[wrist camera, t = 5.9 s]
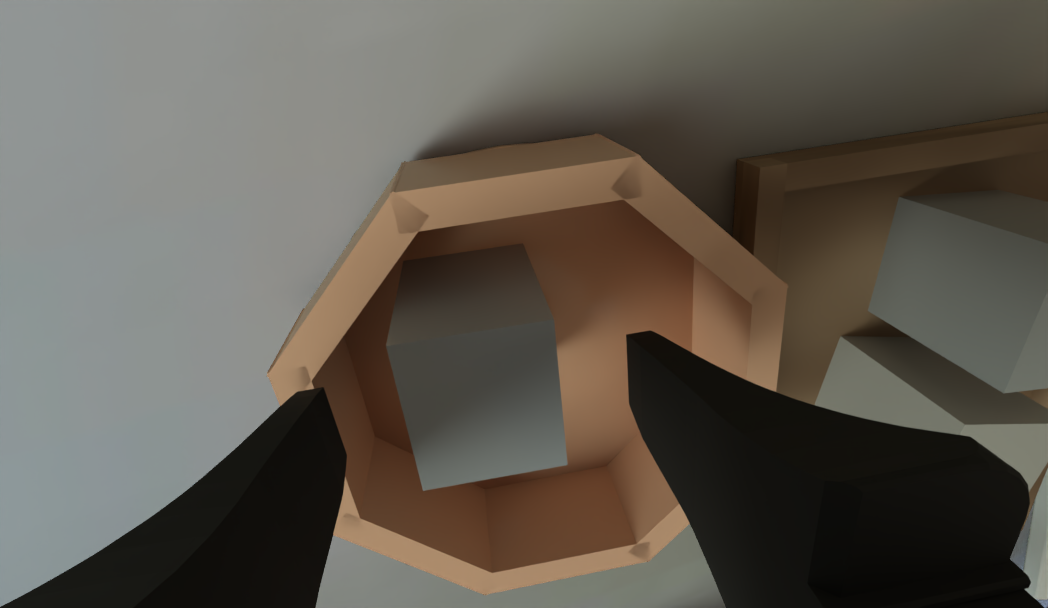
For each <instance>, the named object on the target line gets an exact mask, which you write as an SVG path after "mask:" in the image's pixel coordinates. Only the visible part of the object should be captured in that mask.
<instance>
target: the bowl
mask: <svg viewBox="0 0 1048 608" xmlns="http://www.w3.org/2000/svg"><path fill="white" fill-rule="evenodd" d="M521 243H523V245H524V247H525V250H526V252H527V255H528V257H529V259H530V262H531V264H532V267H533V269H534V272H535V274H536V277H537V279H538V281H539V284H540V286H541V289H542V291H543V294H544V296H545V299H546V301H547V303H548V306H549V308H550V311H551V313H552V316H553V318H554V324H555V335H556V346H557V357H558V367H559V378H560V389H561V400H562V410H563V421H564V432H565V443H566V454H567V464H568V465H565V466H559V467H554V468H548V469H542V470H537V471H531V472H526V473H520V474H515V475H509V476H503V477H498V478H492V479H487V480H481V481H476V482H470V483H464V484H459V485H453V486H448V487H442V488H436V489H431V490H425V491H423V489H422V485H421V481H420V477H419V473H418V469H417V465H416V461H415V457H414V454H413V450H412V446H411V442H410V438H409V434H408V430H407V426H406V422H405V418H404V414H403V410H402V407H401V403H400V399H399V395H398V391H397V387H396V383H395V379H394V375H393V371H392V367H391V364H390V360H389V356H388V352H387V348H386V344H387V339H388V334H389V329H390V324H391V319H392V314H393V309H394V305H395V300H396V295H397V290H398V285H399V280H400V275H401V270H402V265H403V261H406V260H413V259H419V258H426V257H433V256H440V255H447V254H453V253H460V252H467V251H474V250H481V249H487V248H494V247H501V246H508V245H515V244H521ZM787 288H788V284H787V283H785V282H784V281H782V280H781V279H779V278H778V277H777V276H776V275H775V274H774V273H772V272H771V271H770V270H769V269H768V268H767V267H766V266H764V265H763V264H762V263H761V262H760V261H759V260H758V259H756V258H755V257H754V256H753V255H752V254H751V253H750V252H748V251H747V250H746V249H745V248H744V247H743V246H742V245H740V244H739V243H738V242H737V241H736V240H735V239H734V238H732V237H731V236H730V235H729V234H728V233H727V232H726V231H724V230H723V229H722V228H721V227H720V226H719V225H718V224H716V223H715V222H714V221H713V220H712V219H711V218H710V217H708V216H707V215H706V214H705V213H704V212H703V211H702V210H700V209H699V208H698V207H697V206H696V205H695V204H694V203H692V202H691V201H690V200H689V199H688V198H687V197H685V196H684V195H683V194H682V193H681V192H680V191H679V190H677V189H676V188H675V187H674V186H673V185H672V184H671V183H669V182H668V181H667V180H666V179H665V178H664V177H663V176H661V175H660V174H659V173H658V172H657V171H656V170H655V169H653V168H652V167H651V166H650V165H649V164H648V163H647V162H645V161H644V160H643V159H642V158H641V155H639V154H637V153H635V152H633V151H631V150H629V149H627V148H625V147H623V146H621V145H619V144H618V143H616V142H614V141H612V140H610V139H608V138H606V137H604V136H602V135H600V134H597V133H595V134H594V135H587V136H580V137H574V138H567V139H560V140H553V141H546V142H539V143H522V144H509V145H499V146H494V147H489V148H485V149H480V150H475V151H471V152H468V153H464V154H458V155H451V156H444V157H437V158H430V159H423V160H417V161H410V162H405V161H404V162H403V163H401V166H400V168H399V170H398V171H397V173H396V174H395V176H394V177H393V179H392V180H391V181H390V183H389V184H388V186H387V187H386V189H385V190H384V192H383V193H382V195H381V196H380V198H379V199H378V201H377V202H376V204H375V205H374V207H373V208H372V210H371V211H370V213H369V214H368V215H367V217H366V218H365V220H364V221H363V223H362V224H361V226H360V227H359V229H358V230H357V231H356V232H355V234H354V235H353V237H352V239H351V240H350V242H349V244H348V245H347V246H346V248H345V249H344V251H343V252H342V254H341V255H340V257H339V258H338V260H337V261H336V263H335V264H334V266H333V267H332V269H331V270H330V272H329V273H328V275H327V276H326V278H325V279H324V280H323V282H322V283H321V285H320V286H319V288H318V289H317V291H316V292H315V294H314V295H313V297H312V298H311V300H310V301H309V303H308V304H307V306H306V307H305V308H304V309H303V310H302V311H301V313H300V315H299V317H298V319H297V320H296V322H295V324H294V326H293V328H292V329H291V331H290V333H289V335H288V337H287V338H286V340H285V342H284V344H283V345H282V347H281V349H280V351H279V353H278V354H277V356H276V358H275V360H274V362H273V363H272V365H271V367H270V369H269V370H268V372H267V374H268V375H267V377H269V379H270V382H271V384H272V387H273V389H274V392H275V394H276V397H277V399H278V402H279V404H280V406H281V405H282V404H283V403H284V402H285V401H287V400H288V399H289V398H290V397H291V396H292V395H294V394H295V393H296V392H298V391H304V390H310V389H315V388H321V387H324V390H325V392H326V395H327V398H328V401H329V404H330V407H331V410H332V413H333V416H334V419H335V421H336V424H337V427H338V430H339V433H340V436H341V439H342V442H343V445H344V448H345V450H346V453H347V463H346V473H345V482H344V491H343V497H342V501H341V505H340V509H339V513H338V517H337V521H336V525H335V529H334V533H333V535H334V536H337V537H339V538H342V539H345V540H347V541H350V542H352V543H355V544H357V545H360V546H362V547H365V548H367V549H370V550H372V551H375V552H377V553H380V554H383V555H385V556H388V557H390V558H393V559H395V560H398V561H400V562H403V563H405V564H408V565H410V566H413V567H415V568H418V569H421V570H423V571H426V572H428V573H431V574H433V575H436V576H438V577H441V578H443V579H446V580H448V581H451V582H453V583H456V584H459V585H461V586H464V587H466V588H469V589H471V590H474V591H476V592H479V593H481V594H483V595H487V594H491V593H496V592H501V591H506V590H510V589H515V588H520V587H525V586H530V585H535V584H540V583H545V582H550V581H554V580H559V579H564V578H569V577H574V576H579V575H584V574H589V573H594V572H599V571H603V570H608V569H613V568H618V567H623V566H628V565H633V564H638V563H643V562H648V561H650V560H651V559H652V558H653V557H654V556H655V555H656V554H657V553H658V552H659V551H660V550H661V549H663V548H664V547H665V546H666V545H667V544H668V543H669V542H670V541H671V540H672V539H673V538H674V537H676V536H677V535H678V534H679V533H680V532H681V531H682V530H683V529H684V528H685V527H686V526H687V525H689V524H690V523H689V521H688V519H687V517H686V515H685V513H684V511H683V510H682V508H681V506H680V504H679V503H678V501H677V499H676V497H675V495H674V494H673V492H672V490H671V488H670V487H669V485H668V483H667V481H666V480H665V478H664V476H663V474H662V473H661V471H660V469H659V467H658V465H657V464H656V462H655V460H654V458H653V457H652V455H651V453H650V451H649V449H648V448H647V446H646V444H645V442H644V440H643V438H642V436H641V433H640V431H639V429H638V426H637V424H636V421H635V418H634V416H633V413H632V411H631V408H630V405H629V394H628V369H627V344H626V334H632V333H638V332H644V331H649V330H651V331H653V332H655V333H657V334H659V335H661V336H663V337H665V338H667V339H668V340H670V341H672V342H674V343H676V344H677V345H679V346H681V347H683V348H684V349H686V350H688V351H690V352H692V353H693V354H695V355H697V356H699V357H701V358H703V359H705V360H706V361H708V362H710V363H712V364H714V365H716V366H718V367H720V368H722V369H724V370H726V371H728V372H730V373H732V374H735V375H737V376H739V377H741V378H743V379H745V380H748V381H750V382H752V383H754V384H757V385H759V386H762V387H764V388H767V389H769V390H772V391H775V392H776V388H777V379H778V370H779V361H780V351H781V342H782V333H783V324H784V314H785V305H786V296H787Z"/></svg>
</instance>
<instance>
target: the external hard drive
mask: <svg viewBox="0 0 1048 608" xmlns="http://www.w3.org/2000/svg"><path fill="white" fill-rule="evenodd" d="M1023 572H1025V573H1026V574H1027V575H1028V576H1029V579H1030V581H1031V584H1030V586H1029V588H1026V589H1025V590H1026V591H1027V592H1028V593H1029V594H1030V595H1031V596H1032V597H1033V598H1034V599H1038V600H1046V599H1048V469H1047V471H1046V474H1045V476H1044V478H1043V481H1042V483H1041V486H1040V488H1039V491H1038V493H1037V495H1036V498H1035V501H1034V506H1033V513H1032V519H1031V525H1030V531H1029V537H1028V543H1027V550H1026V556H1025V562H1024V568H1023Z"/></svg>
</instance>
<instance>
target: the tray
mask: <svg viewBox="0 0 1048 608" xmlns="http://www.w3.org/2000/svg"><path fill="white" fill-rule="evenodd" d="M989 190H1001V191H1005V192H1010V193H1014V194H1018V195H1022V196H1026V197H1030V198H1034V199H1038V200H1042V201H1046V202H1048V112H1044V113H1037V114H1031V115H1024V116H1018V117H1011V118H1004V119H998V120H991V121H985V122H978V123H972V124H965V125H959V126H952V127H945V128H939V129H932V130H926V131H919V132H913V133H906V134H900V135H893V136H887V137H880V138H873V139H867V140H860V141H854V142H847V143H841V144H834V145H828V146H821V147H814V148H808V149H801V150H795V151H788V152H782V153H775V154H769V155H762V156H755V157H749V158H742V159H737V170H736V187H735V205H734V223H733V238H734V239H735V240H736V241H737V242H738V243H739V244H740V245H742V246H743V247H744V248H745V249H746V250H747V251H748V252H750V253H751V254H752V255H753V256H754V257H755V258H756V259H758V260H759V261H760V262H761V263H762V264H763V265H764V266H766V267H767V268H768V269H769V270H770V271H771V272H772V273H774V274H775V275H776V276H777V277H778V278H779V279H781V280H782V281H784V282H785V283H787V284H788V288H787V296H786V305H785V314H784V324H783V333H782V342H781V351H780V361H779V370H778V379H777V388H776V392H777V393H780V394H783V395H785V396H788V397H791V398H794V399H797V400H800V401H803V402H806V403H809V404H812V405H815V402H816V399H817V397H818V394H819V391H820V389H821V386H822V384H823V381H824V378H825V376H826V373H827V370H828V368H829V365H830V362H831V360H832V357H833V355H834V352H835V349H836V347H837V344H838V341H839V339H840V336H865V337H910V336H908V335H907V334H905V333H903V332H902V331H900V330H898V329H897V328H895V327H894V326H892V325H890V324H889V323H887V322H885V321H884V320H882V319H880V318H879V317H877V316H875V315H874V314H872V313H870V312H869V311H868V308H869V305H870V301H871V297H872V294H873V290H874V286H875V283H876V279H877V275H878V272H879V268H880V264H881V261H882V257H883V253H884V250H885V246H886V243H887V239H888V235H889V232H890V228H891V224H892V221H893V217H894V213H895V210H896V206H897V202H898V199H899V197H904V196H918V195H932V194H947V193H961V192H975V191H989ZM1020 393H1022V394H1023V395H1025V396H1027V397H1029V398H1030V399H1032V400H1034V401H1035V402H1037V403H1039V404H1040V405H1042V406H1044V407H1045V408H1047V409H1048V388H1046V389H1037V390H1029V391H1020ZM1047 469H1048V463H1047V464H1046V466H1045V467H1044V469H1043V471H1042V472H1041V474H1040V475H1039V477H1038V478H1037V480H1036V482H1035V483H1034V485H1033V486H1032V488H1031V489H1030V491H1029V497H1030V505H1029V509H1028V513H1027V517H1028V515H1029V512H1030V510H1031V508H1032V505H1033V503H1034V500H1035V498H1036V495H1037V493H1038V491H1039V488H1040V486H1041V483H1042V481H1043V478H1044V476H1045V474H1046V471H1047ZM1027 517H1026V520H1027ZM1026 520H1025V522H1026ZM1025 522H1024V524H1025ZM1023 527H1024V525H1023ZM1023 527H1022V529H1023Z"/></svg>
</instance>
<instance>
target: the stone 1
mask: <svg viewBox="0 0 1048 608" xmlns="http://www.w3.org/2000/svg"><path fill="white" fill-rule="evenodd" d="M386 348H387V352H388V356H389V360H390V364H391V367H392V371H393V375H394V379H395V383H396V387H397V391H398V395H399V399H400V403H401V407H402V410H403V414H404V418H405V422H406V426H407V430H408V434H409V438H410V442H411V446H412V450H413V454H414V457H415V461H416V465H417V469H418V473H419V477H420V481H421V485H422V489H423V491H425V490H431V489H436V488H442V487H448V486H453V485H459V484H464V483H470V482H476V481H481V480H487V479H492V478H498V477H503V476H509V475H515V474H520V473H526V472H531V471H537V470H542V469H548V468H554V467H559V466H565V465H568V464H567V454H566V443H565V432H564V421H563V410H562V400H561V389H560V378H559V367H558V357H557V346H556V335H555V324H554V318H553V316H552V313H551V311H550V308H549V306H548V303H547V301H546V299H545V296H544V294H543V291H542V289H541V286H540V284H539V281H538V279H537V277H536V274H535V272H534V269H533V267H532V264H531V262H530V259H529V257H528V255H527V252H526V250H525V247H524V245H523V243H521V244H515V245H508V246H501V247H494V248H487V249H481V250H474V251H467V252H460V253H453V254H447V255H440V256H433V257H426V258H419V259H413V260H406V261H403V265H402V270H401V275H400V280H399V285H398V290H397V295H396V300H395V305H394V309H393V314H392V319H391V324H390V329H389V334H388V339H387V344H386Z"/></svg>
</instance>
